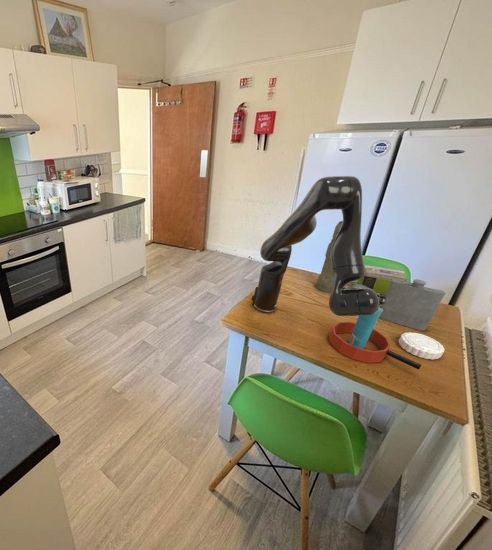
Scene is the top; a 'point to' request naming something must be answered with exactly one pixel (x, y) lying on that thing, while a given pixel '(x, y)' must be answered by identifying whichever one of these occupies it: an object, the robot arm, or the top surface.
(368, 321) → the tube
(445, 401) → the top surface
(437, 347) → the mooncake
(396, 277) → the tea box
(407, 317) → the hip flask
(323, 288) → the thermos
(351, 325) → the pan
